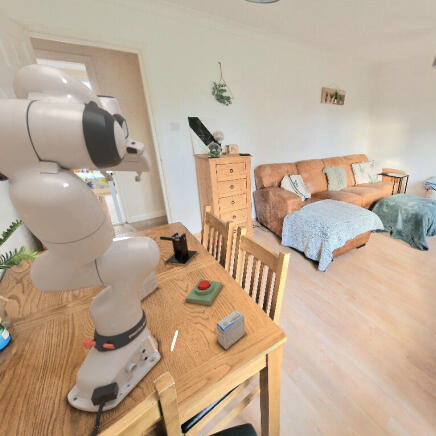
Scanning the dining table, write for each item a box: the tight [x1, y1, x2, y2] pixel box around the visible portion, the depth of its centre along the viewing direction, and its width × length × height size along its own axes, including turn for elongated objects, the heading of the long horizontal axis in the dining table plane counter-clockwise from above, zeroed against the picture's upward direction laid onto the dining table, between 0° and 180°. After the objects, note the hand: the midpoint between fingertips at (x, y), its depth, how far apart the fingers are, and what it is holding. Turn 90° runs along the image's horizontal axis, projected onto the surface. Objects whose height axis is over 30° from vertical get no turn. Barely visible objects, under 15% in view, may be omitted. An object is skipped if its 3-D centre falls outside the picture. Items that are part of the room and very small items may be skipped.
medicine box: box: [216, 309, 246, 350], centre depth 78 cm, size 8×4×9 cm, turn 141°
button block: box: [185, 279, 223, 306], centre depth 99 cm, size 12×10×4 cm
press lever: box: [159, 234, 182, 242], centre depth 114 cm, size 12×6×2 cm, turn 173°
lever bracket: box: [165, 232, 198, 265], centre depth 121 cm, size 12×10×14 cm
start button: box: [197, 279, 210, 290], centre depth 98 cm, size 4×4×2 cm
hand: (124, 180), depth 91 cm, fingers open, 8 cm apart
